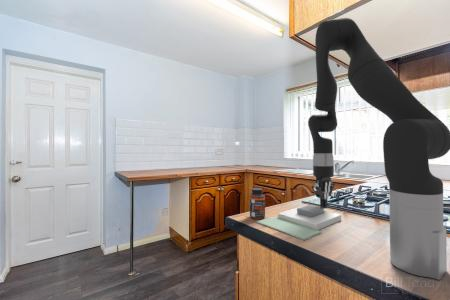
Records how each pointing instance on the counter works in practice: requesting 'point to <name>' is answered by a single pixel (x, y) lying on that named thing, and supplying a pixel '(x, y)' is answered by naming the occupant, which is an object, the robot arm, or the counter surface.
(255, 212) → the supplement bottle
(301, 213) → the grey flat block
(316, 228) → the riser
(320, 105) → the robot arm
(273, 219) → the mat
